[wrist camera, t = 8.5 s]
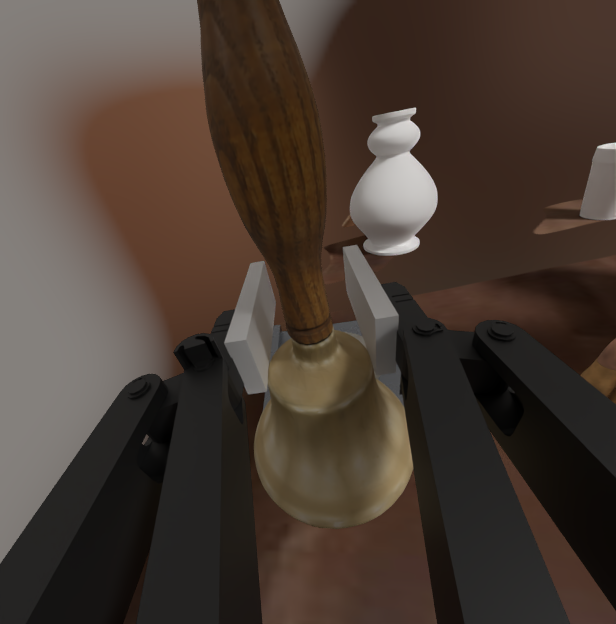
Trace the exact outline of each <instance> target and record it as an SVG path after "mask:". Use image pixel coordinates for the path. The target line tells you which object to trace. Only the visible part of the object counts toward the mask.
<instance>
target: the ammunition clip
mask: <svg viewBox="0 0 616 624" xmlns="http://www.w3.org/2000/svg"><path fill="white" fill-rule="evenodd" d="M581 377H583V378H584V379H585V380H586V381H588V382H589V383H590V384H591V385H592V386H594V387H595V388H596V389H597V390H599V391H600V392H601V393H602V394H604V395H605V396H606V397H608V396H609V397H608V398H609V399H610V400H611V401H612V402H614V403H615V404H616V388H615V387H616V338H615V339H614V340H613V341H612V342H611V343H610V344H609V345H608V346H607V347H606V348H605V349H604V350H603V352H602V353H601V354H600V356H599V357H598V358H597V359H596V360H595V361H594V363H593V364H592V365H591V366H590V367H589V368H587V369H586V370H585V371H584V372H583V373H582V374H581ZM614 388H615V389H614ZM613 390H614V391H613ZM612 391H613V392H612ZM611 392H612V393H611ZM610 393H611V394H610Z"/></svg>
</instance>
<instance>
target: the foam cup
mask: <svg viewBox="0 0 616 624" xmlns="http://www.w3.org/2000/svg"><path fill="white" fill-rule="evenodd" d="M592 162H593V163H592V168H591V171H590V175H589V179H588V183H587V187H586V191H585V195H584V199H583V202H582V206H581V210H580V215H579V216H581V217H583V218H587V219H594V220H611V219H616V143H610V144H604V145H601V146H598V147H597V150H596V152H595V155H594V157H593V159H592Z"/></svg>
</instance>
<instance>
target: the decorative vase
mask: <svg viewBox="0 0 616 624" xmlns="http://www.w3.org/2000/svg"><path fill="white" fill-rule="evenodd" d="M415 113H416V108H411V109H406V110H401V111H396V112H391V113H386V114H381V115H377V116H373V117H372V121H373V122H375V123H377V124H378V126H377V128H376V129H375V130H374V131H373V132H372V134H371V135H370V137H369V139H368V148H369V149H370V151H371V152H372V153H374V154H375V155H376V156H377V157H376V159H375V161H374V162H373V163H372V164H371V166H370V167H369V168H368V169H367V171H366V172H365V173H364V175H363V176H362V178H361V179H360V181H359V183H358V184H357V186H356V188H355V190H354V192H353V195H352V197H351V202H350V214H351V218H352V220H353V222H354V223H355V224H356V226H357V227H358V228H359V229H360V230H361V231H362V232H363V233H364V234H365V235H366V237H367V238H368V239H367V240H366V241H365V242H364V244H363V247H364V250H365V251H367V252H369V253H371V254H375V255H384V256H390V255H399V254H405V253H408V252H411V251H413V250H415V249H416V248H417V247H418V246H419V239H418V238H417V237H416V236H414V235H415V234H416V233H417V232H418V231H419V230H420V229H421V228H422V227H423V226H424V225H425V224H426V222H427V221H428V220H429V219H430V218H431V216H432V215H433V213H434V211H435V209H436V206H437V190H436V186H435V184H434V182H433V180H432V178H431V177H430V175H429V174H428V172H427V171H426V170H425V169H424V167H423V166H422V165H421V164H420V163H419V162H418V161H417V160H416V159H415V158H414V157H413V156H412V155H411V154H410V150H411V149H412V148H413V147H414V145H415V144H416V143H417V141H418V140H419V138H420V130H419V128H418V127H417V126H416V125H415V124H414V123H413V122H411V121H410V117H411V116H412V115H413V114H415Z"/></svg>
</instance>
